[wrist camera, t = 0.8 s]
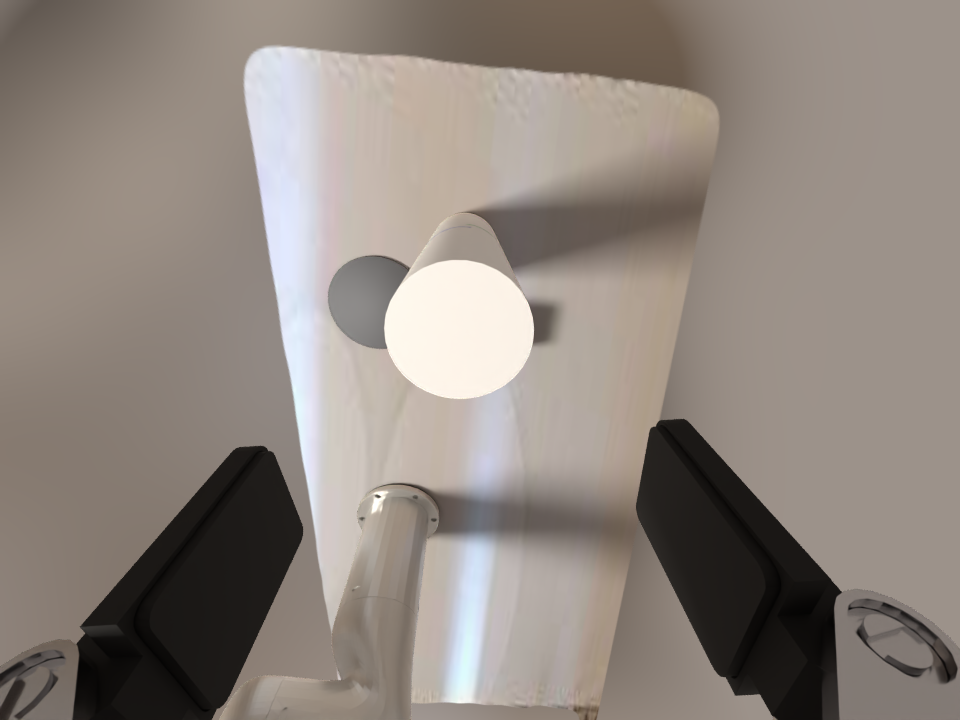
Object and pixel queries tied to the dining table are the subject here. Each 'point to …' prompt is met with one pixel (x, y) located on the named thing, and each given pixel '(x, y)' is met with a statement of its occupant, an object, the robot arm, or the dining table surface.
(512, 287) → the cylindrical container
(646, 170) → the dining table surface
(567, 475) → the dining table surface
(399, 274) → the charcoal mat
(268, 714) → the robot arm
